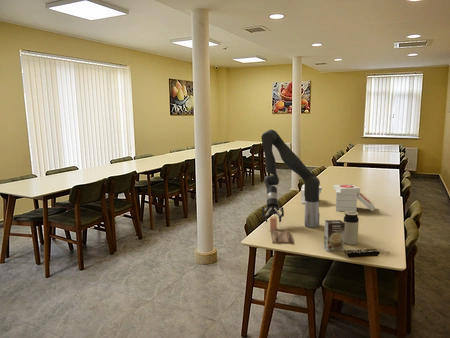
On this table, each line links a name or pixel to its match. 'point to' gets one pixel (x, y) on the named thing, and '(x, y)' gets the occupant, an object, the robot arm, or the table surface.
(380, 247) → the table surface
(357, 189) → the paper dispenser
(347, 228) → the travel mug
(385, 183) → the table surface
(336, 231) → the coffee box
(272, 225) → the terracotta block
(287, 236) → the walnut rack
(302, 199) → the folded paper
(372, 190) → the table surface
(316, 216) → the robot arm
